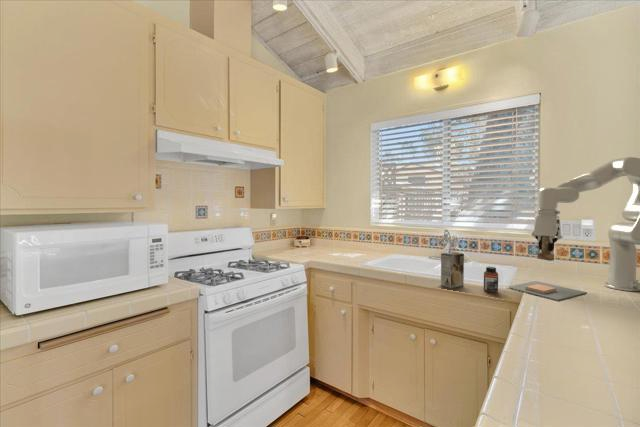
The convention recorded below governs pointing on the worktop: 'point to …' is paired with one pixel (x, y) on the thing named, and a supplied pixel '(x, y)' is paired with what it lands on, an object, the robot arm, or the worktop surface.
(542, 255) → the wooden rubber stamp
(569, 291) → the mat
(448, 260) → the coffee box
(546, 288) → the tile
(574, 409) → the worktop surface
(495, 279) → the supplement bottle
